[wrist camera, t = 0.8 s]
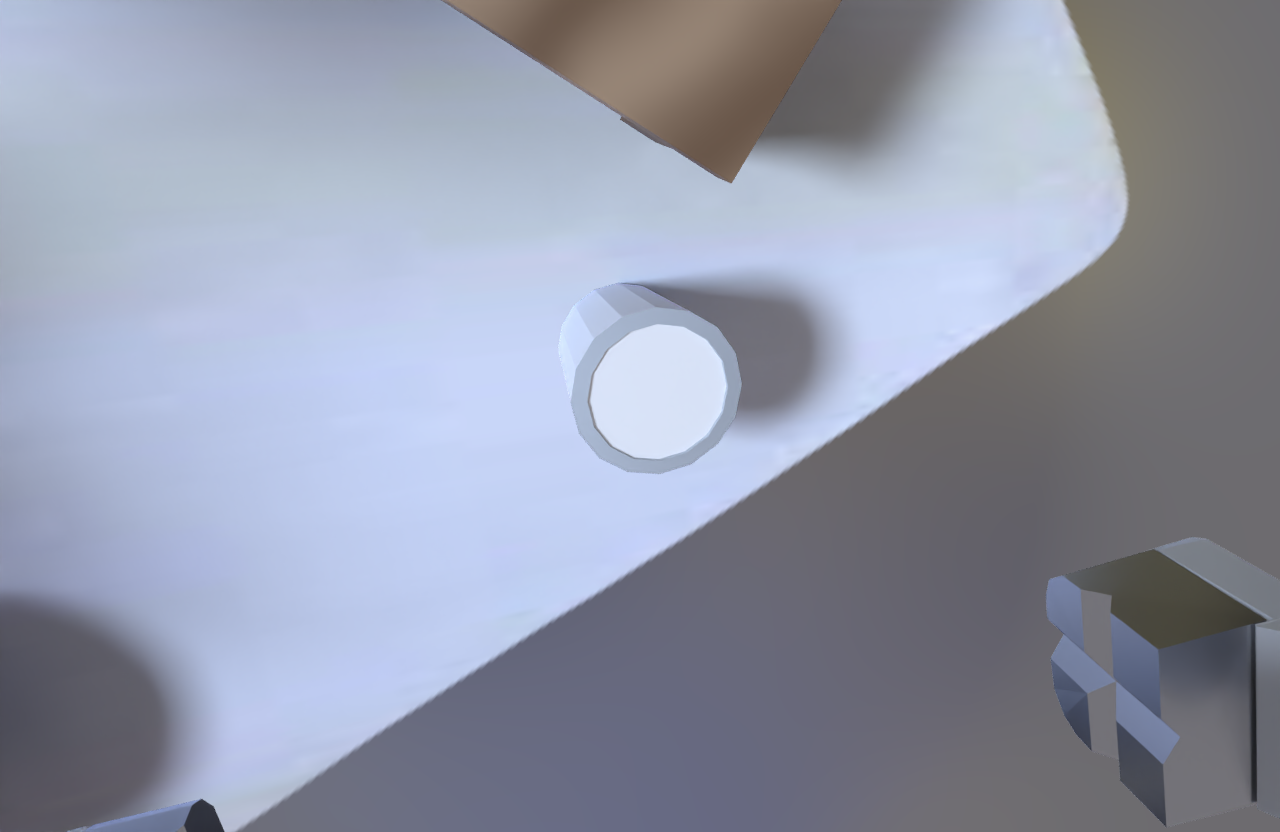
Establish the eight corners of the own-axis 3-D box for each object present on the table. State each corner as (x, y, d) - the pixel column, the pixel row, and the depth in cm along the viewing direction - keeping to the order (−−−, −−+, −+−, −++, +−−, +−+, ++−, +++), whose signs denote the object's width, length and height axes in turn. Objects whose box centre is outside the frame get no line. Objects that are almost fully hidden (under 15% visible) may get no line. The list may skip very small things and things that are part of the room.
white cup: (616, 236, 44) (655, 270, 38) (723, 334, 47) (777, 381, 41) (512, 354, 45) (534, 407, 39) (623, 444, 48) (661, 507, 41)
